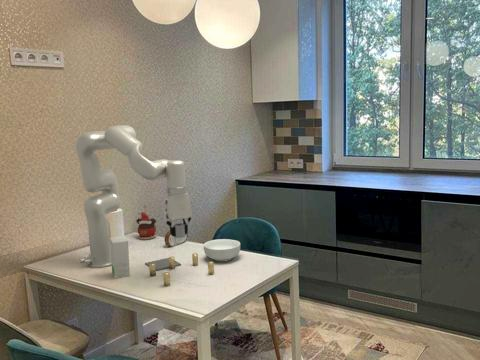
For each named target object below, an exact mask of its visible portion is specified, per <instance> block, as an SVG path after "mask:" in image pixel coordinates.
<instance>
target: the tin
mask: <svg viewBox="0 0 480 360" xmlns="http://www.w3.org/2000/svg"><path fill="white" fill-rule="evenodd" d="M188 234H189V233H188V232H187V234H186V236H185V237H183V238H175V237H173V236H172V235H171V234H170V229H169V230H168V231H167V232H166V233H165V235H164V244H165V245H166V246H167V247H175V246H178V245H180V244H181V245H182V244H184V243H185V242H186V241H187V239H188V237H189V235H188Z"/></svg>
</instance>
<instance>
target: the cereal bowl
mask: <svg viewBox="0 0 480 360" xmlns="http://www.w3.org/2000/svg"><path fill="white" fill-rule="evenodd" d="M203 250H204V254H205V255H206V256H207V257H208V258H210V259H213V260H214V261H216V262H227V261H230V260H231V259H233V258H236V257H237V256H238V255H239V253H240V252H241V242H240V241H239V240H236V239H228V238H222V239H220V238H219V239H212V240H208V241H206V242H205V243H204V244H203Z"/></svg>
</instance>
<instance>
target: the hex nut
mask: <svg viewBox="0 0 480 360" xmlns="http://www.w3.org/2000/svg"><path fill="white" fill-rule="evenodd" d="M174 227H175V229H176V236H175V238H183V237H185V236H186V232H185V224H183V222H177V223H176V222H175V223H174ZM173 237H174V236H173Z"/></svg>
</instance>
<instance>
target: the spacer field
mask: <svg viewBox="0 0 480 360" xmlns="http://www.w3.org/2000/svg"><path fill="white" fill-rule="evenodd" d="M191 256H192V257H191V258H192V266H193V267H197V266H199V255H198V253H197V252H196V253H192V254H191ZM168 258H169V268H168V269H169V270H170V271H171V270H175V269H176V267H175V261H176V260H175V256H169V257H168ZM148 268H149V276H150V277H156V276H157V271H156V269H155V263H150V264H149V266H148ZM207 271H208V272H207V273H208V275H211V276H213V275H215V262H214V261H212V260H211V261H210V260H209V261H208V262H207ZM170 275H171V274H170V272H169V271H164V272H162V276H163V278H162V279H163V287H170V286H171V277H170Z"/></svg>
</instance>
